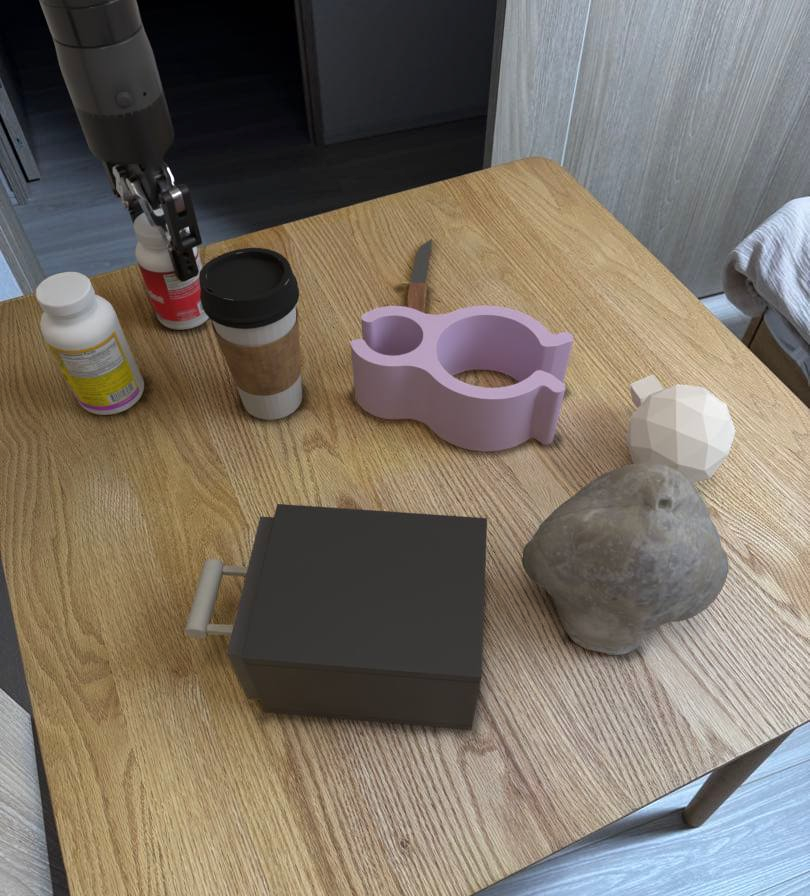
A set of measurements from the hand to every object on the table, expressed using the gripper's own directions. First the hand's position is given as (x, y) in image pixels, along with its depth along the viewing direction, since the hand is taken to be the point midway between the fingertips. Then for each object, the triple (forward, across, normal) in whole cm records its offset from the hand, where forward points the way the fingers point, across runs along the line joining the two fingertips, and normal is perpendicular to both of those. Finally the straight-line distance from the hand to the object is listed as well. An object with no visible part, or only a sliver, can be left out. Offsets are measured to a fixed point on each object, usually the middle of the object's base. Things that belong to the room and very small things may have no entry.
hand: (169, 259), depth 77 cm
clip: (+7, -29, -14) cm, 33 cm away
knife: (+7, -13, -22) cm, 26 cm away
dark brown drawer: (+6, -42, +12) cm, 44 cm away
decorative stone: (+7, -54, -8) cm, 55 cm away
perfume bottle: (+7, -47, -24) cm, 53 cm away
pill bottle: (+7, 0, 0) cm, 7 cm away
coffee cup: (+7, -17, 0) cm, 18 cm away
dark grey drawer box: (+7, -45, +9) cm, 46 cm away
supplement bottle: (+7, -6, +12) cm, 15 cm away
